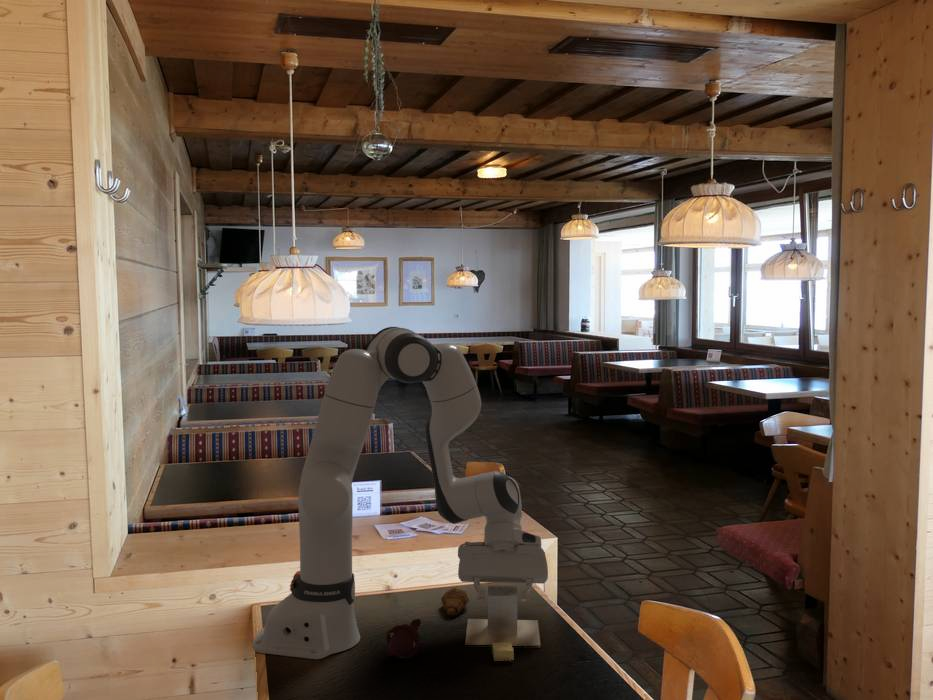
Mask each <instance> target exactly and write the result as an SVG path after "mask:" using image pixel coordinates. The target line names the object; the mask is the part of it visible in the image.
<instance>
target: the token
mask: <svg viewBox="0 0 933 700" xmlns="http://www.w3.org/2000/svg"><path fill="white" fill-rule="evenodd" d="M514 652H515V651H514V647H512V644H511V642H500V643H492V646H491V655H492V654H493V655H492V658H494V659H493V662H494V661H504V660H505V661H507V660H508V661H510V662H512V661H511V660H514V659H515V658H514V657H515V653H514Z"/></svg>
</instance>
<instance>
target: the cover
mask: <svg viewBox="0 0 933 700" xmlns="http://www.w3.org/2000/svg"><path fill="white" fill-rule="evenodd" d="M487 587H488V589H487V619H488V636H506V637H517V620H518V585H506V584H505V585H500V584H497V585H495V584H491V585H490V584H489V585H487Z"/></svg>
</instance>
